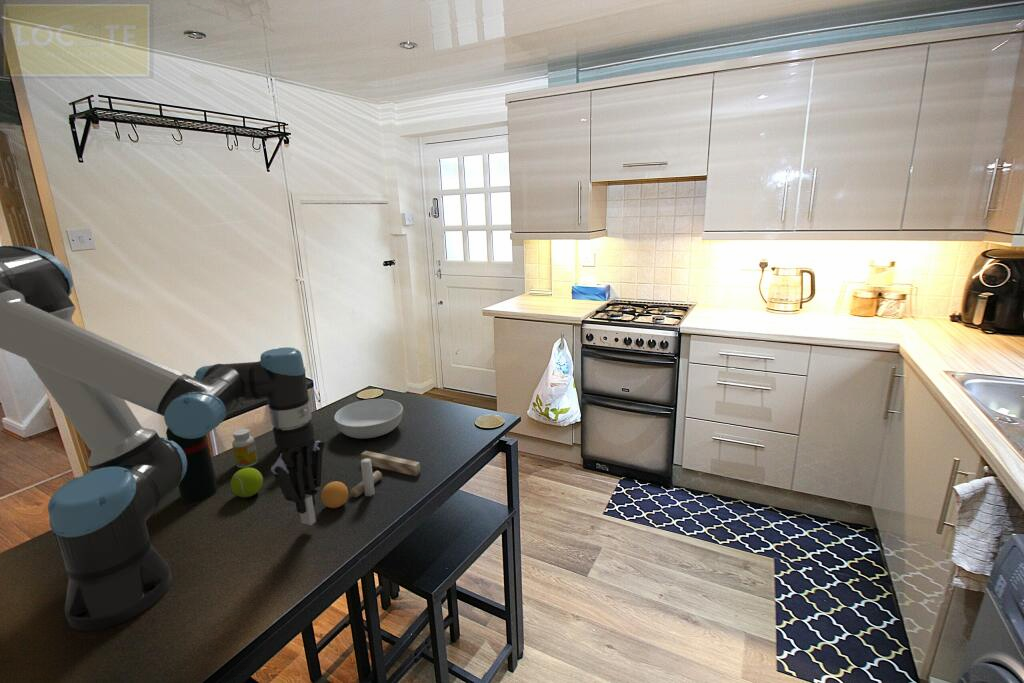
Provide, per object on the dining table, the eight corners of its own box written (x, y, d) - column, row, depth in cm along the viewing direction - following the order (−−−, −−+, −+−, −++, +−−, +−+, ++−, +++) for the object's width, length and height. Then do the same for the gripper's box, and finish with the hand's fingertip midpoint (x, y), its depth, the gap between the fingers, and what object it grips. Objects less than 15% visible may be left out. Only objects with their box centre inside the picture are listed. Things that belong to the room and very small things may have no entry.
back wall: (420, 472, 128) (419, 462, 127) (416, 476, 126) (415, 466, 125) (366, 460, 135) (365, 450, 134) (362, 463, 133) (360, 453, 132)
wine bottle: (164, 503, 117) (135, 387, 110) (206, 482, 126) (181, 373, 118) (183, 511, 114) (154, 392, 106) (224, 489, 123) (201, 377, 115)
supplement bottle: (231, 466, 134) (225, 434, 131) (247, 457, 138) (241, 426, 136) (246, 469, 132) (240, 437, 129) (262, 460, 137) (256, 428, 134)
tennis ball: (254, 484, 124) (249, 459, 123) (270, 491, 121) (266, 466, 119) (227, 498, 119) (222, 472, 117) (243, 506, 115) (238, 480, 113)
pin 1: (366, 497, 117) (362, 464, 115) (363, 493, 119) (359, 460, 116) (376, 494, 118) (372, 461, 116) (372, 490, 120) (368, 457, 118)
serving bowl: (322, 442, 146) (319, 421, 145) (362, 415, 166) (359, 396, 164) (382, 450, 140) (380, 428, 139) (416, 420, 160) (414, 401, 158)
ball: (351, 483, 118) (348, 509, 115) (326, 482, 117) (322, 509, 114) (347, 479, 112) (344, 507, 110) (320, 479, 111) (316, 506, 109)
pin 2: (356, 489, 116) (381, 471, 124) (349, 488, 117) (373, 470, 125) (358, 498, 117) (382, 479, 125) (351, 497, 118) (375, 478, 126)
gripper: (279, 439, 92) (297, 545, 98) (329, 413, 103) (343, 509, 109) (251, 433, 95) (271, 536, 101) (304, 408, 106) (318, 502, 112)
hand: (308, 522), depth 105 cm, fingers closed
